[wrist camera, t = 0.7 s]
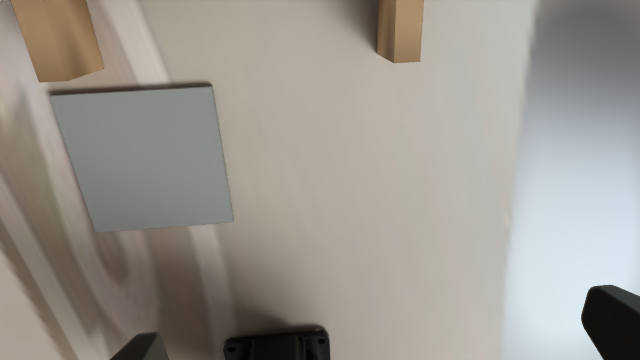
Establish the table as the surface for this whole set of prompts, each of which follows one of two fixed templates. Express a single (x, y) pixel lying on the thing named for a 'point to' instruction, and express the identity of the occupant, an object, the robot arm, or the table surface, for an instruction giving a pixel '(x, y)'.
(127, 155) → the pad
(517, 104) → the table surface
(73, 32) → the wooden frame
